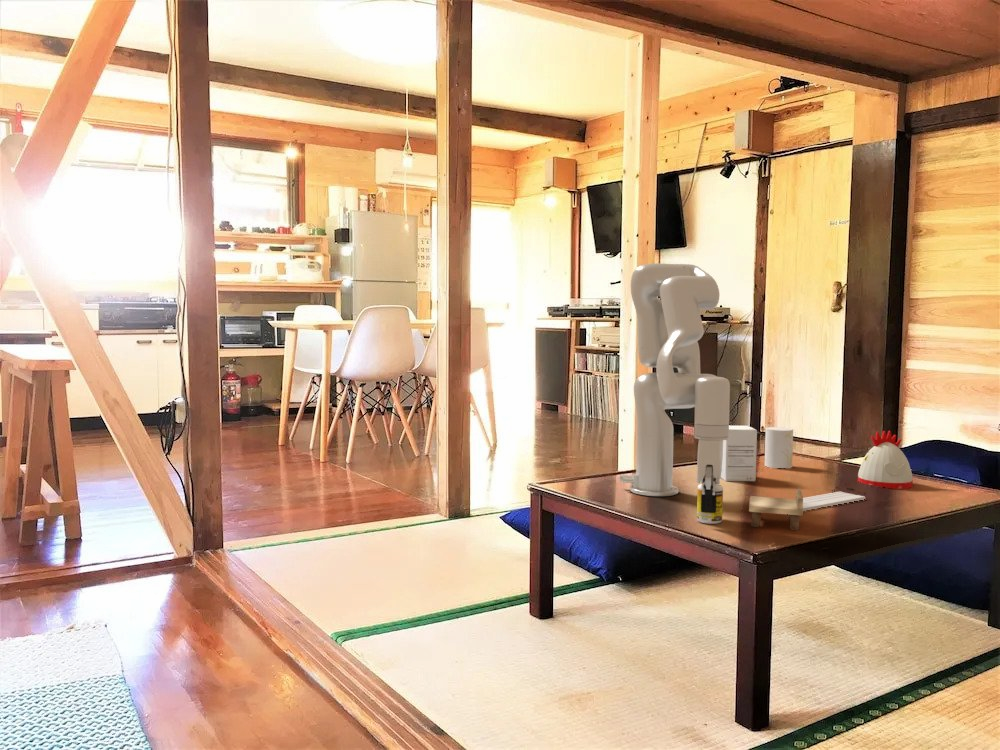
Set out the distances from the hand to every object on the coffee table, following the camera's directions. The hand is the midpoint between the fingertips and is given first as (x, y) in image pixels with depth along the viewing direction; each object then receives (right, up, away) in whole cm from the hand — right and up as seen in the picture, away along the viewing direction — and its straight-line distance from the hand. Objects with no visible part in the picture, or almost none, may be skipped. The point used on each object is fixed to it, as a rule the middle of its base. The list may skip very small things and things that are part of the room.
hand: (709, 507), depth 181 cm
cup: (+40, +1, +70) cm, 81 cm away
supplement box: (+21, 0, +51) cm, 55 cm away
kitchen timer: (+61, -1, +44) cm, 75 cm away
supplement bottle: (0, -3, 0) cm, 3 cm away
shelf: (+14, -3, -1) cm, 15 cm away
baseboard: (+30, -3, +20) cm, 36 cm away
